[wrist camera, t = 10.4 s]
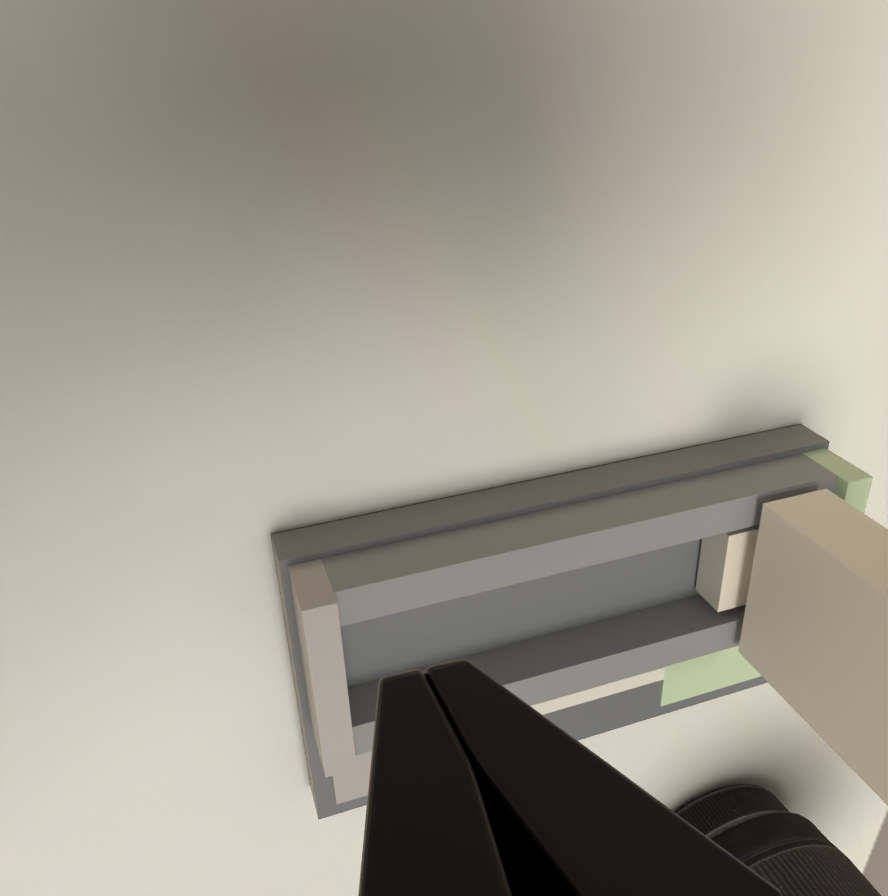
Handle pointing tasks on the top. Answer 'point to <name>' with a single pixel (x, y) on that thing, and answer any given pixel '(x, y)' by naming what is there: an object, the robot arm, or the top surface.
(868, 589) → the slider tab
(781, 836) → the camera lens
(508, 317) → the top surface
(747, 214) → the top surface
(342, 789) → the switch board
